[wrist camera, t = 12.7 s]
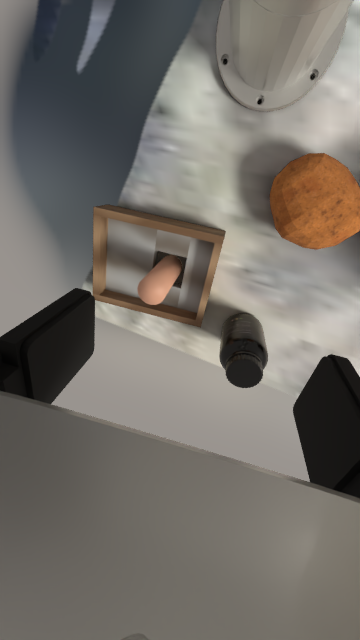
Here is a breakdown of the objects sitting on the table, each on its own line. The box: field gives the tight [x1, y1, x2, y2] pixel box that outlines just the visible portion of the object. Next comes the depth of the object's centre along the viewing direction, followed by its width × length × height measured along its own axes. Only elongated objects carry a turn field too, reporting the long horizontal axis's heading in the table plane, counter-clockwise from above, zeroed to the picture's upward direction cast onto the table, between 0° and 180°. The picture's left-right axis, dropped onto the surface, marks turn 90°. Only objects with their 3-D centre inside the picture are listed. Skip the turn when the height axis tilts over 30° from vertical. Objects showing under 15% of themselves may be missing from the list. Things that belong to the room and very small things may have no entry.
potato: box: [270, 153, 360, 249], centre depth 30 cm, size 9×11×8 cm
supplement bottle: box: [220, 314, 268, 388], centre depth 38 cm, size 7×7×12 cm
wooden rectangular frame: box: [93, 205, 226, 327], centre depth 39 cm, size 14×18×4 cm
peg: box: [137, 255, 182, 305], centre depth 36 cm, size 4×4×11 cm
